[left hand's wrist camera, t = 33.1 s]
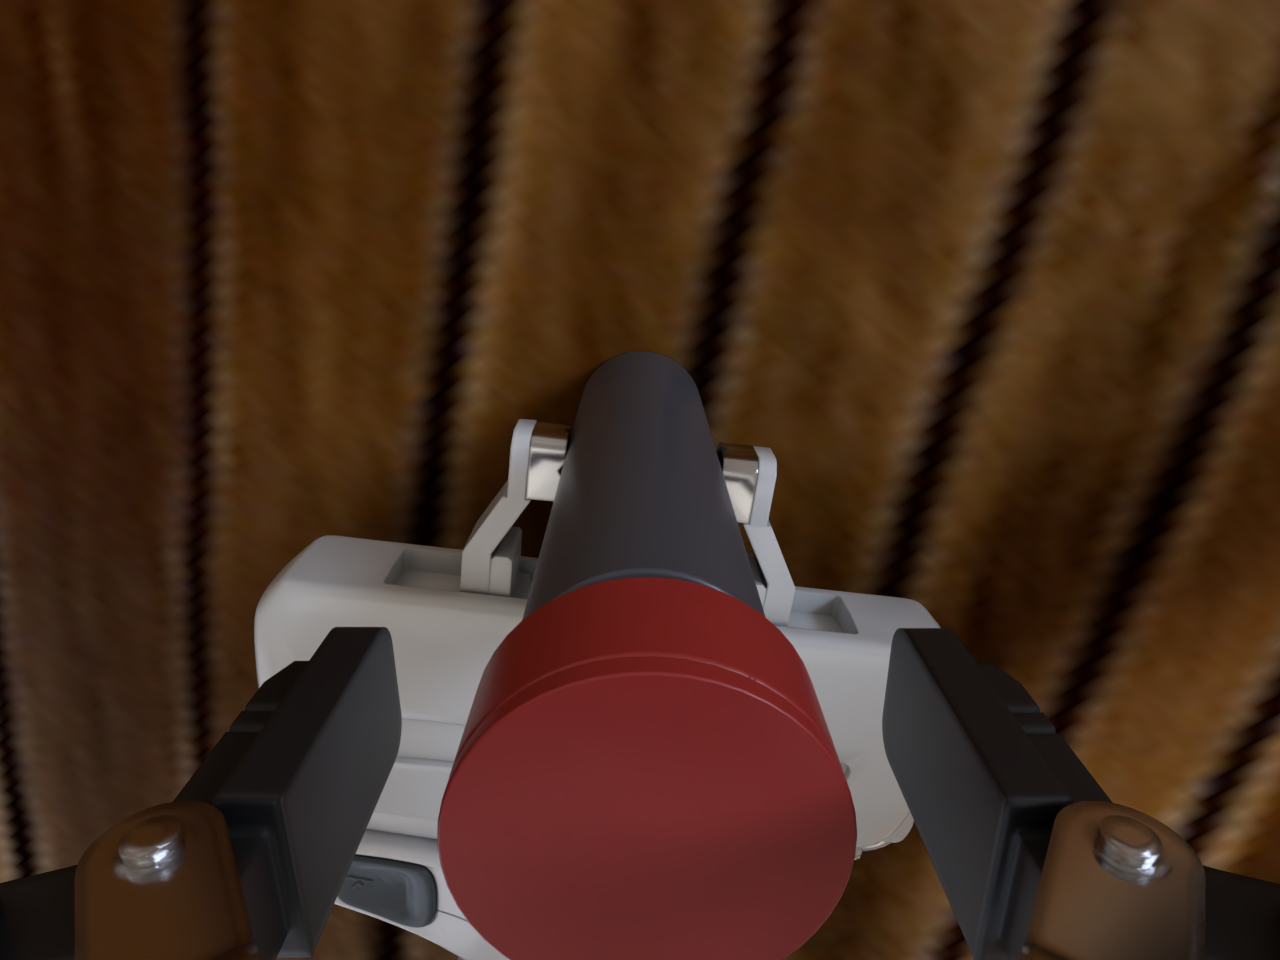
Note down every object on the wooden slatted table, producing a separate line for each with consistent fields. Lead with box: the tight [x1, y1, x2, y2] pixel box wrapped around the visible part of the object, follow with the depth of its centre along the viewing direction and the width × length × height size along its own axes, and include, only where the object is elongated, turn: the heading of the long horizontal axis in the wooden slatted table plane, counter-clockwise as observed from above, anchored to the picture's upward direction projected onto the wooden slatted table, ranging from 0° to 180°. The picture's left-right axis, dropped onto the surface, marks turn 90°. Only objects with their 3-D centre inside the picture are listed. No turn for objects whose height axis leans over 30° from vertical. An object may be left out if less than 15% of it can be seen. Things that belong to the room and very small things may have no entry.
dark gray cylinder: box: [522, 351, 765, 620], centre depth 19 cm, size 4×4×18 cm
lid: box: [437, 577, 857, 960], centre depth 10 cm, size 5×5×2 cm
